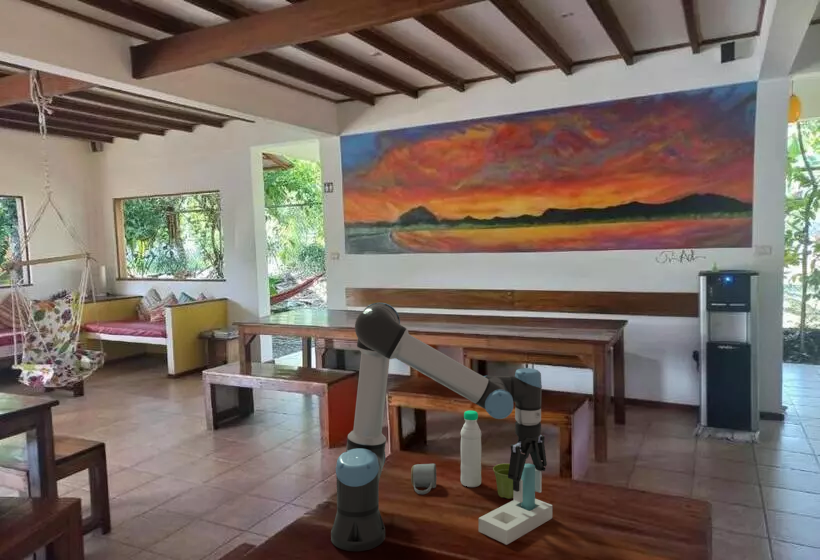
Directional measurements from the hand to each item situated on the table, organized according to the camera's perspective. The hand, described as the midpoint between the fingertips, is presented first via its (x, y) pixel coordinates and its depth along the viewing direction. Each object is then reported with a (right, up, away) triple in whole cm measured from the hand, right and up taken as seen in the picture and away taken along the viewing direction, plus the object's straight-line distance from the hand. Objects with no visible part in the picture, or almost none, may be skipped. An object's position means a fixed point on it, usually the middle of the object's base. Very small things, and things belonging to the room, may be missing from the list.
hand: (527, 495), depth 171 cm
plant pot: (-3, -6, +16) cm, 18 cm away
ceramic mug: (-30, -6, +22) cm, 38 cm away
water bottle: (-14, -6, +25) cm, 30 cm away
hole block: (-4, -7, -3) cm, 9 cm away
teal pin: (0, -6, 0) cm, 6 cm away
